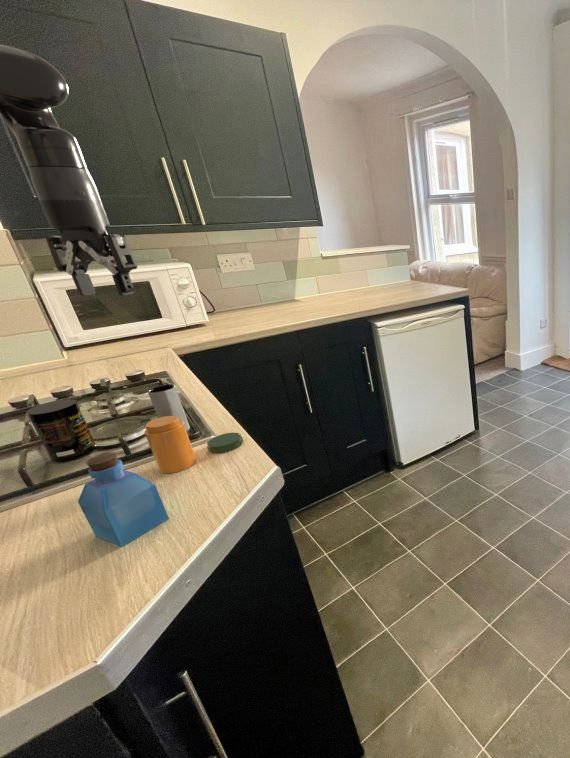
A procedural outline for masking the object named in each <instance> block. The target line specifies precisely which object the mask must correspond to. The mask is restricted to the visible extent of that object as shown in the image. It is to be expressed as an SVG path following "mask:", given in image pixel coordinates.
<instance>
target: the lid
mask: <svg viewBox="0 0 570 758" xmlns="http://www.w3.org/2000/svg"><path fill="white" fill-rule="evenodd" d="M243 443H244V439H243V437H242V434H241V433H240V432H225V433H222V434H219V435H216V436H214V437H212V438H210V439H209V440H208V441H207V442H206V446H207V447H206V448H207V450H208V451H209V453H212V454H223V453H227V452H230V451H234V450H236V449H237V448H239V447H241V446H242V445H243Z"/></svg>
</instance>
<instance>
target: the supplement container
mask: <svg viewBox="0 0 570 758" xmlns="http://www.w3.org/2000/svg"><path fill="white" fill-rule="evenodd" d="M78 403H79V402H78V401H77V400H76V399H70V398H69V399H68V398H67V399H60V400H54V401H50V402H45V403H43V404H39V405H37V406H34V407H32V408H29V409H28V410H27V411H26V415H27V417H28V419H29V422H31V424H32V426H33V428H34V430H35V432H36V434H37V436H38V439H39V440H40V442H41V444H42V446H43V448H44V450H45V451H46V454H47V456H48V457H49V460H51V461H53V462H56V463H63V462H70V461H75V460H77V459H80V458H83V457H86V456H87V455H89V454H91V453H93V452H94V451H95V450H96V449H97V443H96V442H95V439H94V437H93V435H92V432H91V430H90V428H89V425H88V423H87V422H86V419H85V418H84V414H83V413H82V411H81V408H80V406H79V404H78Z"/></svg>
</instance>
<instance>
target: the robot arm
mask: <svg viewBox="0 0 570 758" xmlns="http://www.w3.org/2000/svg"><path fill="white" fill-rule="evenodd" d="M68 85H69V84H68V83H67V81H66V78H65V77H64V76H63V75H62V73H61V72H60V71H59V70H58V69H57V68H56V67H55V66H54V65H52V63H50V62H49V61H47V60H46V59H44V58H42V57H41V56H38V55H37V54H34V53H32V52H29V51H27V50H24V49H21V48H17V47H14V46H11V45H6V44H1V43H0V116H1V118H2V119H3V121H4V122H5V124H6V126H7V127H8V128H9V129H10V131H11V132H12V133H13V135H14V136H15V138H16V140H17V144H18V146H19V150H20V152H21V154H22V156H23V159H24V162H25V164H26V166H27V169H28V172H29V175H30V179H31V183H32V186H33V188H34V191H35V193H36V196H37V198H38V201H39V204H40V206H41V208H42V211H43V213H44V215H45V218H46V220H47V223H48V225H49V227H50V228H51V229H53V230H58V231H59V233H60V235H48V236H46V237H45V240H46V243H47V246H48V248H49V249H48V250H49V251H50V254H51V257H52V259H53V262H54V264H55V267H56V269H57V271H59V272H65V273H67V274H68V275H69V276H71V278H72V280H73V282H74V285H75V287H76V290H77V291H78V294H79V295H80V296H81V297H87V296H95V295H96V293H97V292H96V289H95V286H94V284H93V281H92V279H91V277H90V273H87V272H88V269H89V265H90V264H92V262H97V263H98V265H101V266H104V267H105V268H106V269H107V270H108V271H109V272H110V273H111V277H112V280H113V282H114V285H115V288H116V290H117V293H118V295H119V296H120V297H126V296H132V295H134V294H135V287H134V285H133V282H132V280H131V277H130V273H131V271H133V270H137V269H138V264H137V263H136V259H135V257H134V254H133V252H132V249H131V248H130V244H129V242H128V239H127V236H126V235H124V234H123V233H113V234H109V233H108V232H107V230H106V229H107V228H109V227H110V225H111V224H110V222H109V218H108V216H107V213H106V210H105V207H104V205H103V202H102V200H101V197H100V194H99V191H98V188H97V186H96V184H95V181H94V180H93V177H92V175H91V173H90V171H89V169H88V166H87V163H86V161H85V158H84V155H83V152H82V150H81V147H80V145H79V143H78V141H77V139H76V137H75V136H74V135H73V134H72V133H71V132H69V130H66V129H64V128H61V127H60V125H59V123H58V121H57V120H56V117H55V116H54V114H53V112H52V109H53V108H56V107H59V106H61V105H63V104H64V103H65V102H66V101H67V99H68V98H69V94H70V91H69V86H68ZM123 256H124V258H125V260H126V262H125V261H124V259H123ZM63 258H64V260H63ZM64 261H65V262H66V263H64Z"/></svg>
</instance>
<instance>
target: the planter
mask: <svg viewBox="0 0 570 758" xmlns="http://www.w3.org/2000/svg"><path fill="white" fill-rule="evenodd" d="M147 393H148V397H149V398H150V402H151V404H152V406H153V409H154V412H155V415H156V418H160V417H164V416H177V417H178V419H179V421H182V422H183V423H184V426H185V429H186V431H187V432H189V431H190V429H191V427H190V424H189V421H188V418H187V415H186V412H185V410H184V407H183V404H182V401H181V399H180V395H179V392H178V390H177V387H176V385H175V384H173V383H171V384H170V383H168V384H167V383H166V384H161V385H157V386H154V387H151V388H149V389H148V390H147Z"/></svg>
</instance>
